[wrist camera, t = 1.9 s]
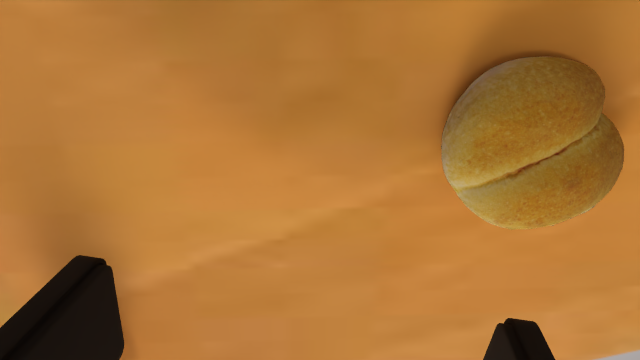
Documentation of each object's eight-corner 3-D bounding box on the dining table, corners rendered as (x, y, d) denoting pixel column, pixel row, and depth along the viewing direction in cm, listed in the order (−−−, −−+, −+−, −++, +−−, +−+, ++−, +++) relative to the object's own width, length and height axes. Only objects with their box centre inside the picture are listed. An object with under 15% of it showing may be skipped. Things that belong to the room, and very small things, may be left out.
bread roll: (569, 21, 19) (615, 30, 16) (619, 171, 22) (668, 208, 19) (409, 104, 22) (418, 129, 18) (474, 230, 25) (492, 272, 21)
